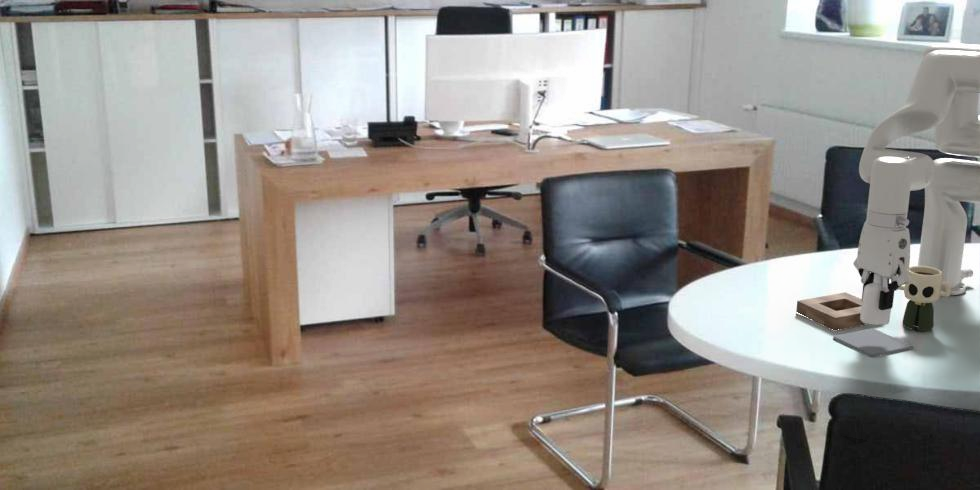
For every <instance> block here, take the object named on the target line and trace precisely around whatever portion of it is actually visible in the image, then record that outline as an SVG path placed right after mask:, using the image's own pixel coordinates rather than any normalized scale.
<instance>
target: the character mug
mask: <svg viewBox="0 0 980 490" xmlns="http://www.w3.org/2000/svg"><path fill="white" fill-rule="evenodd" d="M908 278H909V283H906V284H904V285H901V286H900V287H899V288H898V289H897V291H898V290H900V291H903V293H904V297H905V298H906V299H908V301H907V303H906V305H905V306H906V307H905V309H904V313H903V317H902V321H901V322H902V326H904V327H905V328H907V329H910V330H914V328H915V327H917V331H929V330H932V329H933V328H934V327H935V318H934V316H935V311H934V305H933V303H936V302H937V301H938V300H939V299H940V297H944V298H948V297H950V296H951V295H950V288H951V283H949V282H945V281H942V271H940V270H938V269H935V268H932V267H926V266H918V265H913V266H909V272H908ZM897 279H898V274H897ZM941 285H942V286H946V288H945V292H940V289H941Z"/></svg>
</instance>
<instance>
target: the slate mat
mask: <svg viewBox="0 0 980 490" xmlns="http://www.w3.org/2000/svg"><path fill="white" fill-rule="evenodd" d="M832 339H833V340H834V339H835V340H834V341H836V340H837V342H839V343H841V344H843V345H845V346H848V347H850V348H852V349H853V348H854V349H853V350H856V351H858V352H861V353H862V354H864V355H867V356H869V357H870V358H875V357H880V355H881V356H884V355H889V353H890V354H894V353H893V352H895V353H899V352H903V351H902V350H904V351H907V349H909V350H913V349H914V345H912V344H910V343H907V342H905V341H903V340H901V339H899V338H895V337H893V336H891V335H889V334H887V333H886V332H885V333H884V332H882V331H880V330H878V329H876V328H867V329H863V330H859V331H854V332H848V333H844V334H842V333H841V334H839V335H834V336H833V338H832ZM898 351H899V352H898Z"/></svg>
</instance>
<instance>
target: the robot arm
mask: <svg viewBox="0 0 980 490" xmlns="http://www.w3.org/2000/svg"><path fill="white" fill-rule="evenodd" d="M979 99H980V44H972V43H971V44H969V43H959V42H958V43H952V42H949V43H948V42H947V43H946V42H942V43H941V42H940V43H934V44H930V45H928V46H927V47H926V48H925V50H924V52H923V56H922V59H921V61H920V63H919V66H918V68H917V71H916V74H915V75H914V79H913V82H912V85H911V87H910V89H909V92H908V95H907V97H906V100H905V104H903V105H904V106H902V107H901V108H899V109H898V110H895V111H894V112H892V113H891V114H888V116H887V117H885V118H883V120H882V121H880V122H879V123H878V124H877V125H876V126H875V127H874V128H873V129H872V131H871V132H870V134H869V137H868V138H867V141H866V144H865V146H864V148H863V151H862V154H861V157H860V161H859V166H858V173H859V176H860V178H861V179H862V181H864V182H865V183H867V184H869V191H868V200H867V210H866V219H865V222H864V223H863V226H862V229H861V233H860V237H859V242H858V247H857V256H856V258H855V260H854V261H853V266H854V267H855V269H856V270H857V271H858V274H859V276H860V282H861V283H862V284H863V285H862V291H861V292H862V293H861V299H863V292H864V287H865V286H866V285H868V284H870V283H873V280H874V273H875V274H878V275H880V276H883V291H881V292H880V299H879V309H880V310H886V309H891V310H892V309H893V306H894V298H895V291H898V288H899V287H900V286H905V284H906V283H909V278H908V272H909V267H910V264H911V260H910V259H911V236H910V234H911V233H910V229H909V228H908V226H909V224H910V220H909V219H908V212H909V203H910V196H911V195H910V194H911V192H913V191H920V190H922V189H924V210H923V211H924V212H923V219H922V220H923V222H922V227H921V228H922V229H921V235H920V246H919V253H918V260H917V261H918V263H917V266H926V267H932V268H935V269H938V270H940V271H942V281H945V282H949V283H951V288H950V295H949V296H959V295H962V294H963V293H965V292H966V288H967V285H966V284H965V283H963V280H964V279H965V278H971V277H973V276H974V271H973V270H972V269H971V268H970V269H969V268H967V269H962V265H963V256H964V248H965V242H966V235H967V234H966V233H967V226H968V218H967V217H968V216H967V213H966V211H965V209H964V207H963V206H962V204H961V202H966V203H973V204H979V205H980V161H977V160H969V159H961V158H951V157H949V158H948V157H944V158H943V157H942V158H936V159H932V157H931V156H929V155H927V154H924V153H921V152H914V151H907V150H906V151H905V150H897V149H889V148H887V146H888V145H889V144H891V143H892V142H895V140H898V139H900V138H902V137H903V138H904V137H905V136H909V135H913V134H917V133H920V132H924V131H927V130H931V129H934V143H935V144H934V145H935V148H936V149H937V150H938V151H939V152H941V153H942V154H947V155H954V156H962V157H970V158H979V159H980V114H979V112H978V111H979ZM897 275H898V279H897ZM945 288H946V286H942V285H941V289H940V292H945Z"/></svg>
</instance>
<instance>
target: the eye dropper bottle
mask: <svg viewBox="0 0 980 490" xmlns="http://www.w3.org/2000/svg"><path fill="white" fill-rule="evenodd" d="M881 291H883V276H880V275H878V274H875V273H874V280H873V283H870V284H868V285H866V286H865V287H864V292H863V291H862V292H863V299H862V298H861V299H862V306H861V314H860V320H861V321H862V322H863V323H865V324H867V325H872V326H873V325H875V326H878V325H879V326H880V325H886V324H887V325H888V324H890V323H889V322H890V319H891V311H892V308H891V309H886V310H880V309H879V299H880V292H881Z"/></svg>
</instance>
